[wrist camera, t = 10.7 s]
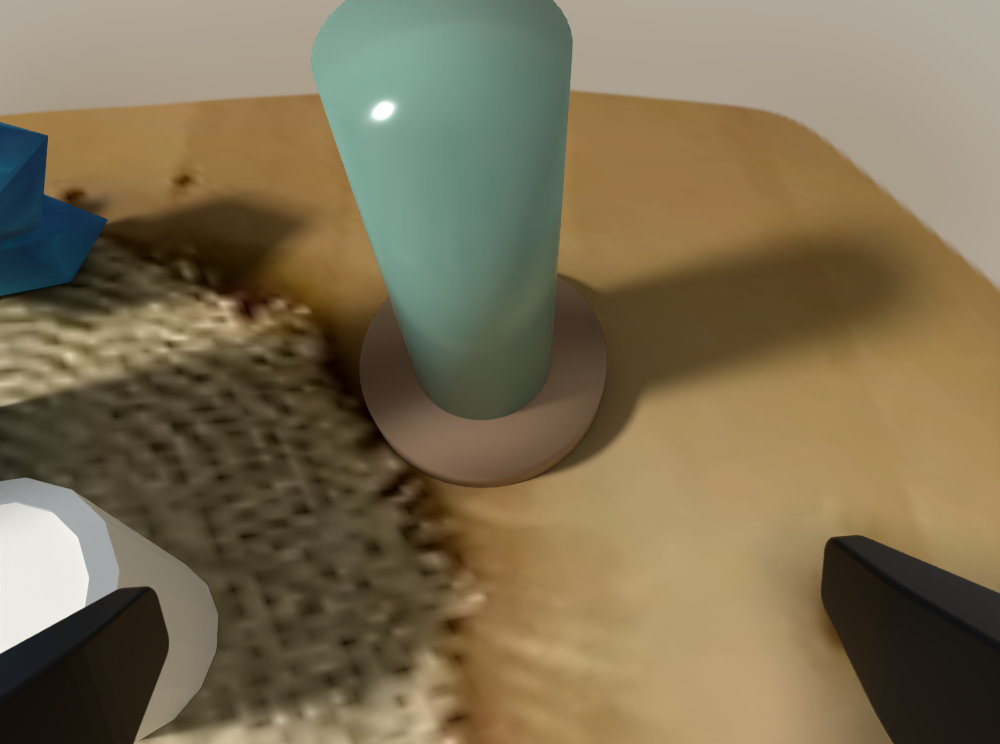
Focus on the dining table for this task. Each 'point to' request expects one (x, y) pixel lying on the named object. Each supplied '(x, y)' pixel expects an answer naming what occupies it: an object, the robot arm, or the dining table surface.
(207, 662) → the white cup
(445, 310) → the teal rounded cylinder
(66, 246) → the crystal
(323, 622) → the dining table surface
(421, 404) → the walnut base
